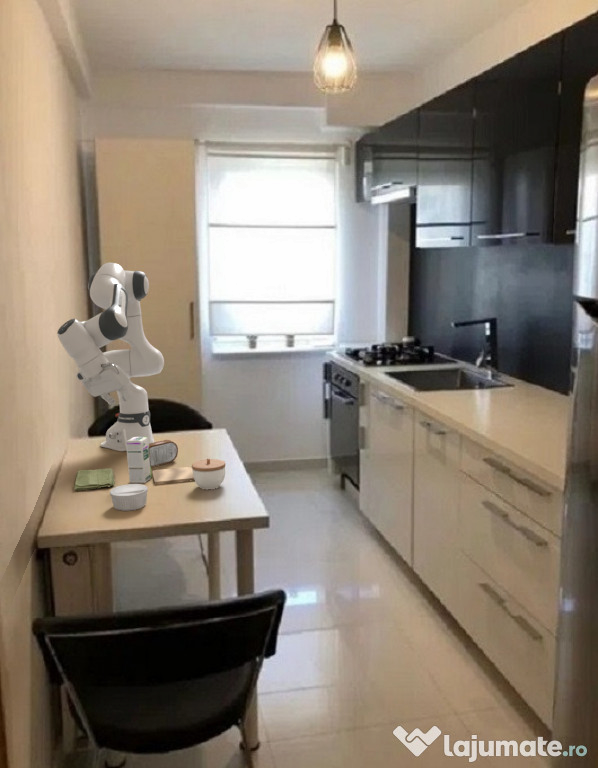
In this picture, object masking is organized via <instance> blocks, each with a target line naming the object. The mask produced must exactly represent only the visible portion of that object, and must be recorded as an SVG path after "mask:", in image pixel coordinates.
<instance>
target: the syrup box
mask: <svg viewBox="0 0 598 768" xmlns="http://www.w3.org/2000/svg"><path fill="white" fill-rule="evenodd" d="M126 449H127V451H126V457H127V459H126V460H127V467H128V469H127V471H128V480H129V483H130V484H146V482H147V483H148V482H149V480H151V479H152V478H153V474H152V467H151V461H150V450H149V439H148V437H133V438H131V439H130V440H128V441H126Z"/></svg>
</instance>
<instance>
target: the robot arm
mask: <svg viewBox="0 0 598 768" xmlns="http://www.w3.org/2000/svg"><path fill="white" fill-rule="evenodd" d="M88 278H89V279H88V284H87V285H88V286H87V289H88V293H89V296H90V299H91V301H92V302H93V303H94V305H96V307H99V308H101V309H103V311H102V312H100V313H98V314H97V315H95V316H93V317H91V318H89V319H87V320H84V321H79V320H78V319H77V318H71V319H69V320H68V321H66V322H64V323H63V324H62V325H61V326H60V327H59V328H58V330H57V333H56V334H57V338H58V340H59V342H60V344H61V345H62V347H63V348H64V350H65V351H66V353H67V354H68V355H69V357H70V358H72V359H73V360H74V362H75V364H76V366H77V369H79V370H78V372H77V373H76V375H75V376H76V379H77V380H79V381H81V383H82V386H83V387H84V388H85V389H86V391H88V393H89V394H90V395H91V396H92V397H94V398H96V397H99V396H100V397H101V399H103V400H104V401H105V402H107V403H108V405H109V406H113V405H114V404H116V399H114V397H111V396H110V395H109V394H110V393H113V392H116V393H117V397H118V403H119V412H118V413H115V418H117V419H116V420H117V421H116V422H114V424H113V425H111V426H110V427H109V428H108V429H107V431H106V433H105V440H104V441H102V442H101V443H100V445H99V446H100V447H103V448H106V449H110V450H114V451H119V452H125V451H126V452H127V449H126V441H128V440H130V439H131V438H133V437H148V439H149V443H154V442H155V440H154V436H153V431H152V426H151V412H150V410H149V399H148V392H147V390H146V389H145V388H144V387H142V386H140V385H138V384H135V383H133V382H132V380H131V378H137V377H138V378H139V377H150V376H153V375H157V374H161V372H162V371H163V368H164V366H165V358H164V356H163V354H162V352H161V351H160V350H159V349H157V348H156V347H155V346H153V345H152V344H151V343H150V341H148V339H147V337H146V335H145V332H144V325H143V318H142V309H141V301H142V299H144V298H145V297H147V295H148V293H149V290H150V289H149V288H150V282H149V279H148V275H146V273H145V272H143V271H139V270H134V271H133V270H124V268H123V267H122V266H121V265H120V264H118V263H115V262H106V263H104V264H102V266H100V268H98V270H97V271H96V272H94V273H92V274H91V275H90V276H89V277H88ZM117 340H120V341H122V342H124V343H127V344H129V346H130V347H131V348H130V349H129V348H128V349H127V348H126V349H115V350H114V349H113V350H109V351H104V352H103V351H102V350H101V348H102V347H105V346H106V345H109V344H111V343H112V342H114V341H117Z"/></svg>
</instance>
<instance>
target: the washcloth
mask: <svg viewBox="0 0 598 768" xmlns="http://www.w3.org/2000/svg"><path fill="white" fill-rule="evenodd" d="M114 485H116V481H115V477H114V470H113V468H98V469H85V470H84V469H82V470H81V469H80V470H78V471H77V472H76V475H75V482H74V485H73V486H74V487H73V489H74V491H76V492H79V491H80V490H81V491H87V490H86V489H89V490H95V489H96V488H97V489H102V488H101V487H105V488H108V487H107V486H114ZM114 487H115V486H114Z"/></svg>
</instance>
